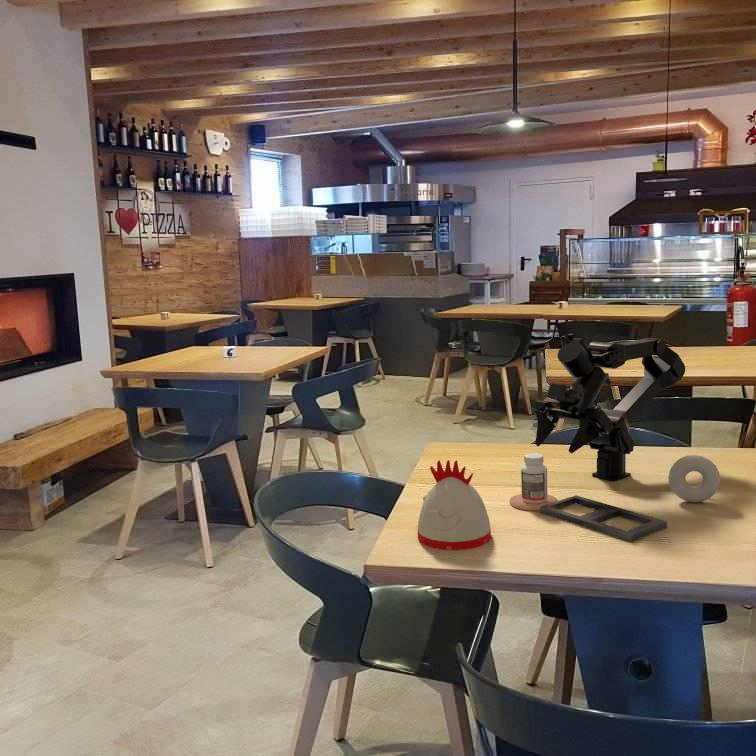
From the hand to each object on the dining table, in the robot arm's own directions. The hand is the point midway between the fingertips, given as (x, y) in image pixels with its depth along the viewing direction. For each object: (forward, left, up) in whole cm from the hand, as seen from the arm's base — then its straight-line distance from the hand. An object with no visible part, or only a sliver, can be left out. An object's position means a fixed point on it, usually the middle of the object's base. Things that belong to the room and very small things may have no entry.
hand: (553, 448), depth 171 cm
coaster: (+7, 0, -11) cm, 12 cm away
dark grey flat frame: (+5, +16, -11) cm, 20 cm away
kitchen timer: (+32, +3, -11) cm, 34 cm away
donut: (-17, +22, -11) cm, 30 cm away
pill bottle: (+6, 0, -10) cm, 12 cm away
